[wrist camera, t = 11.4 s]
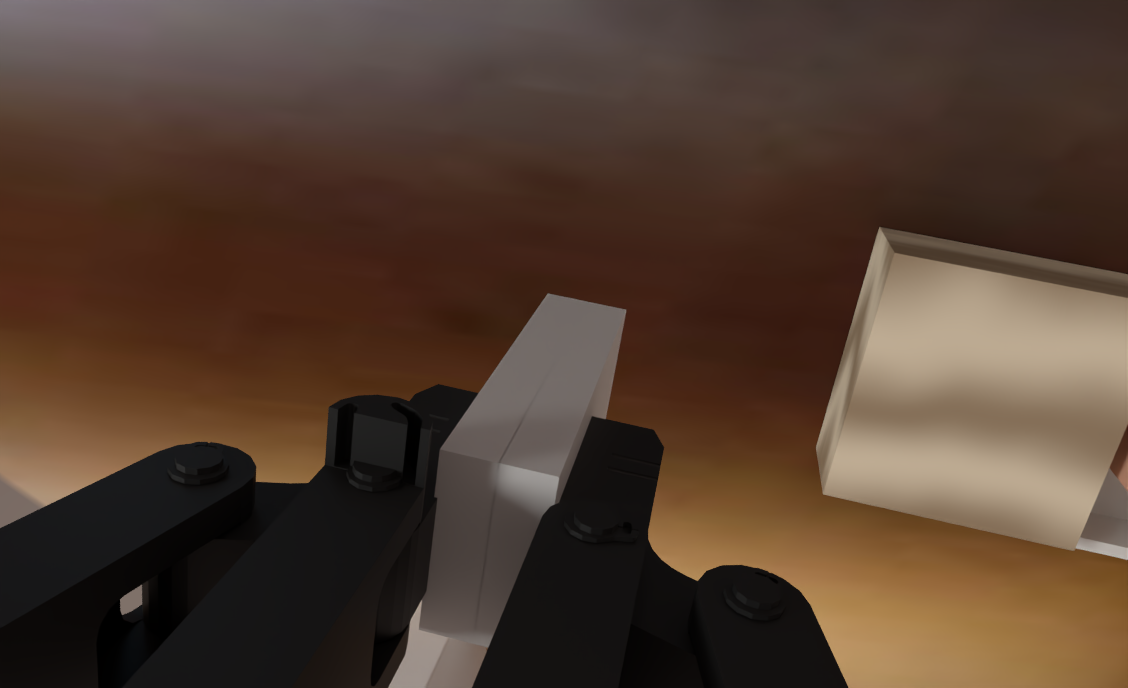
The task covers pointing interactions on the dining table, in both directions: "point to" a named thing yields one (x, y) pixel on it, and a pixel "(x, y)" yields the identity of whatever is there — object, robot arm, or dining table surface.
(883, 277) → the cream square tray
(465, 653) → the milk
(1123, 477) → the terracotta tile
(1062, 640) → the dining table surface
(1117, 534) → the box
